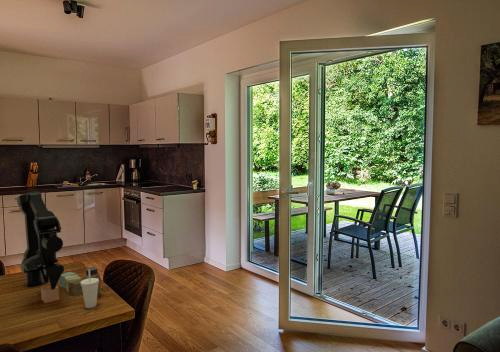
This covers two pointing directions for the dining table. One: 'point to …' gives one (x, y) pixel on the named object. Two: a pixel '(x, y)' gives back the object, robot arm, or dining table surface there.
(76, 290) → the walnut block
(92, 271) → the supplement bottle
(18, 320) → the dining table surface
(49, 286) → the terracotta block
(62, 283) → the slate block
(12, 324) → the dining table surface
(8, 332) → the dining table surface
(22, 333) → the dining table surface
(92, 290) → the smoothie
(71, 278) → the maple block
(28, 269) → the robot arm
